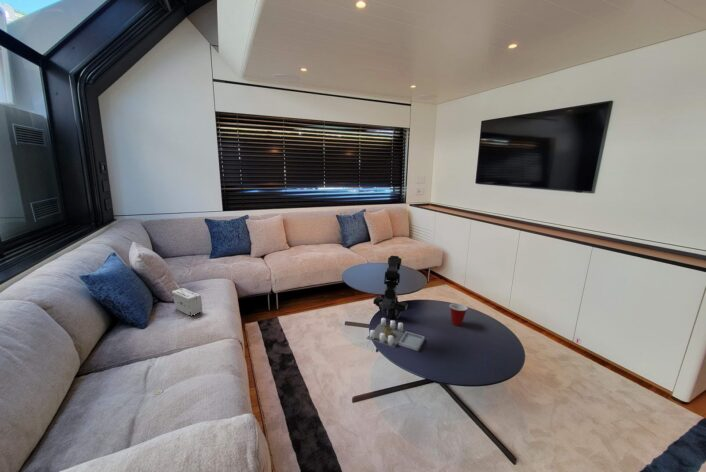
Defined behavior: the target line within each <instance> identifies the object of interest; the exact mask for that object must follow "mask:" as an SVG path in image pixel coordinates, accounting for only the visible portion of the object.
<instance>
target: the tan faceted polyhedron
mask: <svg viewBox="0 0 706 472" xmlns="http://www.w3.org/2000/svg"><path fill="white" fill-rule="evenodd" d="M383 333H385V337H388V336H389V335H392V334H393V329H392V328H390V327H384V328H383Z"/></svg>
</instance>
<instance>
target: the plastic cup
mask: <svg viewBox="0 0 706 472" xmlns="http://www.w3.org/2000/svg"><path fill="white" fill-rule="evenodd" d="M449 308H450V309H449V310H450V317H451V324H452V325H453V326H456V327H460V326H462V325H463V321H464V318H465V316H466V313H467V310H468V309H469V308H468V306H467V305H464V304H462V303H450V304H449Z"/></svg>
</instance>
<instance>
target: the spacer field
mask: <svg viewBox="0 0 706 472" xmlns="http://www.w3.org/2000/svg"><path fill="white" fill-rule="evenodd" d="M384 327H390V328H392V329H393V334H392V335H389V336H388V337H385V333H383V328H384ZM406 331H407V330H406V329H404V323H403V322H398V323H397V327H396V320H394V319H390V324H389V325H388V324H387V317H382V318H381V319H380V323H379V324H377V326H376V327H375V328H374V329H371V330H369V335H368V336H367V337H366V338H365V339H366V340H368V341H372V342H376V343H379V344H382V345H385V346H389V347H391V348H395V347H396V346H397V345H398V343H399V341H400V339H401V338H402V336H403V335H404V334H405V332H406ZM371 337H372V338H371ZM372 339H373V340H372Z"/></svg>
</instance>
